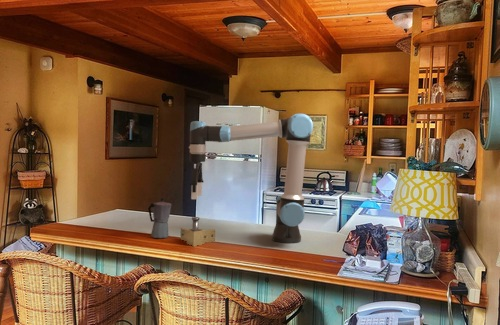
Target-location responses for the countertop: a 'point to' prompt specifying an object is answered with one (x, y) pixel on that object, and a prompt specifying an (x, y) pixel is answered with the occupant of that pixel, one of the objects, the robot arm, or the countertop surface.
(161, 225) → the moka pot
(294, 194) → the robot arm
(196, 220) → the pin
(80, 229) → the countertop surface
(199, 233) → the wooden box
